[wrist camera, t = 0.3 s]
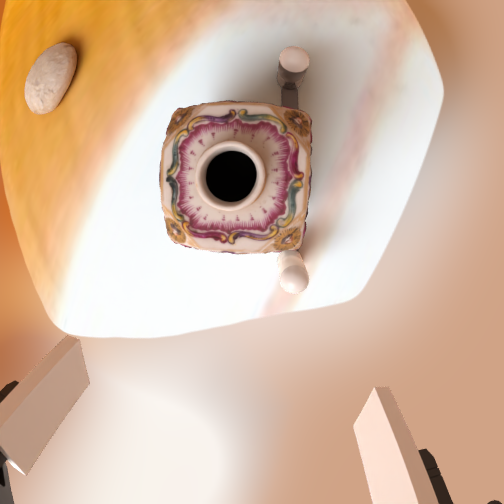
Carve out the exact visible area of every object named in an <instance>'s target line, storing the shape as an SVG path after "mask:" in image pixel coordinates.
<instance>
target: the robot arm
mask: <svg viewBox="0 0 504 504" xmlns="http://www.w3.org/2000/svg"><path fill="white" fill-rule="evenodd" d="M89 384H90V381H89V377H88V373H87V370H86V366H85V362H84V358H83V353H82V348H81V344H80V340H79V339H77V338H74V337H71V336H68V335H67V336H66V337H65V338H64V339H63V340H62V341H60V342H59V344H57V346H55V347H54V348H53V349H52V350H51V351H50V352H49V353H48V354H47V355H46V356H45V357H44V358H43V359H42V360H41V361H40V362H39V363H38V364H37V365H36V366H35V367H34V368H33V369H32V370H31V371H30V372H29V374H27V375H26V376H25V377H24V378H23V380H22V381H21V382H20V383H19V382H17V381H13V382H11V383H9V384H7V385H6V386H5V387H4V388H3V389H2V390H1V391H0V504H14V501H13V496H12V492H11V487H10V482H9V476H8V470H7V466H6V463H5V462H6V460H8V461H9V462H10V463H11V465H12V466H13V467H14V468H16V469H17V470H19V471H20V472H21V473H23V474H24V475H26V476H27V475H28V473H29V471H30V470H31V468H32V467H33V465H34V463H35V462H36V460H37V459H38V457H39V456H40V454H41V453H42V451H43V449H44V448H45V447H46V445H47V443H48V442H49V440H50V439H51V437H52V436H53V435H54V433H55V431H56V430H57V429H58V427H59V425H60V424H61V423H62V421H63V420H64V419H65V417H66V416H67V414H68V413H69V411H70V410H71V408H72V407H73V406H74V404H75V403H76V402H77V400H78V399H79V397H80V396H81V395H82V393H83V392H84V390H85V389H86V388H87V386H88V385H89ZM353 428H354V431H355V435H356V439H357V442H358V446H359V450H360V454H361V457H362V461H363V465H364V469H365V473H366V477H367V482H368V486H369V490H370V494H371V498H372V502H373V504H453V502H452V500H451V497H450V495H449V492H448V490H447V487H446V485H445V482H444V480H443V477H442V476H441V473H440V470H439V468H437V467H438V466H437V464H436V461H435V459H434V457H433V456H432V455H431V454H430V452H428V450H427V449H422V450H418V449H417V447H416V445H415V442H414V440H413V438H412V435H411V433H410V431H409V429H408V426H407V424H406V422H405V420H404V418H403V415H402V413H401V411H400V409H399V407H398V405H397V402H396V400H395V398H394V396H393V394H392V392H391V390H390V388H389V387H374V389H373V391H372V393H371V394H370V396H369V398H368V401H367V402H366V404H365V406H364V408H363V409H362V411H361V413H360V415H359V417H358V418H357V420H356V422H355V423H354V425H353ZM488 504H502V503H501V502H499V501H496V500H494V501H490V502H489V503H488Z"/></svg>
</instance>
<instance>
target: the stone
mask: <svg viewBox="0 0 504 504" xmlns="http://www.w3.org/2000/svg"><path fill="white" fill-rule="evenodd" d="M76 64H77V53H76V50H75V48H74V47H73V46H72V45H70V44H67V43H59V44H56V45H54V46H52V47H50V48H48V49H46V50H45V51H44V52H43V53H42V54H41V55H40V56H39V57H38V59H37V60H36V62H35V63H34V65H33V66H32V68H31V70H30V72H29V74H28V76H27V80H26V84H25V99H26V102H27V105H28V107H29V108H30V109H31V111H32V112H34V113H36V114H45V113H49V112H51V111H52V110H53V109H55V108H56V107H57V105H58V104H59V102H60V101H61V99H62V97H63V96H64V94H65V92H66V90H67V89H68V87H69V85H70V82H71V80H72V77H73V75H74V72H75V69H76Z"/></svg>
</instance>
